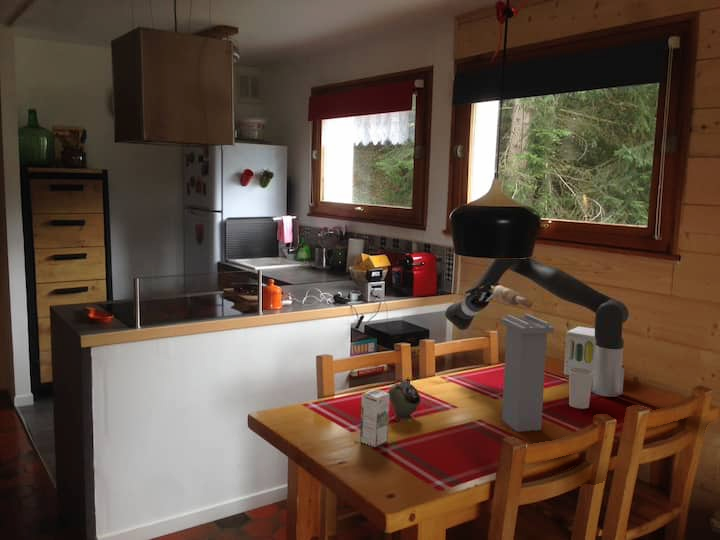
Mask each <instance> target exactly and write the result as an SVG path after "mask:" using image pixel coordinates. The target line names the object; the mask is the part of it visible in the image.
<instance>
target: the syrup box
mask: <svg viewBox="0 0 720 540" xmlns="http://www.w3.org/2000/svg"><path fill="white" fill-rule="evenodd" d="M389 397H390V394H389V392H386V391H384V390H380V389H372V390H369V391H366V392H362V393H361V406H360V407H361V408H360V429H359V430H360V432H359V433H360V434H359V442H360V443H361V442H362V444H364V443H365V445H367V444H368V445H367V446H370V445H371V446H370V447H373V446H374V447H373V448H377V447H379V446H381V445H383V444H385V443H388V439H389V419H390V417H389V416H390V399H389Z"/></svg>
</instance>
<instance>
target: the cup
mask: <svg viewBox="0 0 720 540" xmlns="http://www.w3.org/2000/svg"><path fill="white" fill-rule="evenodd" d="M593 375H594V371H592V370H590V369H586V368H579V367H575V368H570V369H569V376H568V385H569V386H568V387H569V389H568V391H569V393H568V394H569V395H568V398H569V399H568V400H569V402H568V404H569V406H570V407H572V408H575V409H582V410H583V409H588V408H589V407H590V400H591V393H592V388H593Z"/></svg>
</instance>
